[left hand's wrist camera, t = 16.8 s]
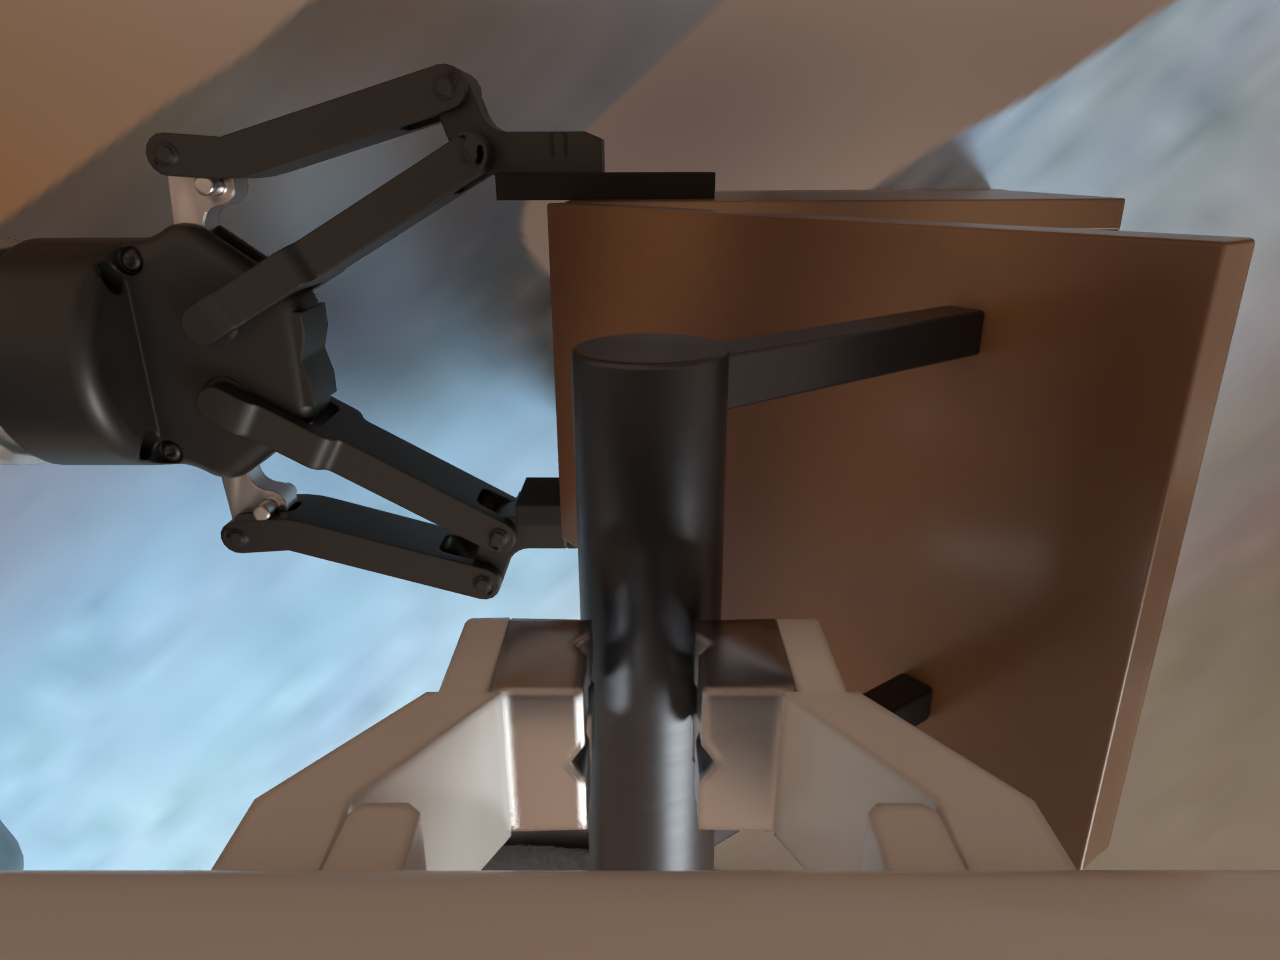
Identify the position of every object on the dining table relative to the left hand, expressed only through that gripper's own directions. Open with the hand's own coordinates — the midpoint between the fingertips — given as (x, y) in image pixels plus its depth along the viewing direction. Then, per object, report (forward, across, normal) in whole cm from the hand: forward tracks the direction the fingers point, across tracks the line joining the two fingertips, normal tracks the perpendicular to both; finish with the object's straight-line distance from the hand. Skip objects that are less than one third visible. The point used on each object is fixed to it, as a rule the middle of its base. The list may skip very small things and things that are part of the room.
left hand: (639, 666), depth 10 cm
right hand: (+19, -2, 0) cm, 19 cm away
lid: (+9, -3, 0) cm, 9 cm away
